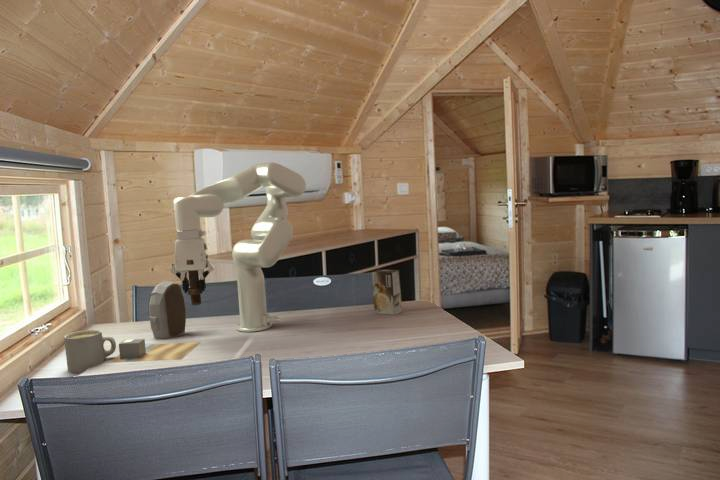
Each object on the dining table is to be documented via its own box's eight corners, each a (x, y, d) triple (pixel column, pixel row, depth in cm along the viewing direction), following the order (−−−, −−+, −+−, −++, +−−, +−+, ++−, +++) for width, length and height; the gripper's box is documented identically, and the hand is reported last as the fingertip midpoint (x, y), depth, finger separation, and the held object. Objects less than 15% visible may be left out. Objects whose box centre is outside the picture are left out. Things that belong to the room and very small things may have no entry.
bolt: (190, 303, 192) (185, 258, 190) (205, 301, 192) (201, 256, 190) (186, 307, 186) (182, 260, 184) (202, 305, 186) (198, 259, 185)
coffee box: (402, 311, 222) (400, 269, 220) (394, 315, 216) (392, 272, 215) (381, 310, 226) (379, 268, 225) (373, 313, 221) (371, 271, 219)
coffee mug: (65, 374, 167) (61, 340, 166) (70, 364, 176) (67, 332, 175) (115, 367, 170) (112, 334, 170) (118, 358, 180) (115, 326, 179)
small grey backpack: (165, 344, 193) (159, 284, 191) (143, 343, 196) (138, 284, 194) (191, 332, 208) (186, 276, 206) (170, 332, 210) (165, 277, 208)
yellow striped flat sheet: (201, 346, 188) (200, 342, 188) (182, 364, 170) (181, 359, 170) (133, 349, 189) (133, 345, 189) (107, 367, 171) (107, 362, 171)
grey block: (145, 353, 178) (144, 338, 178) (140, 357, 174) (138, 342, 173) (126, 354, 179) (125, 339, 178) (120, 358, 174) (118, 343, 174)
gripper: (218, 232, 190) (223, 288, 192) (167, 235, 191) (173, 290, 193) (211, 235, 182) (217, 292, 185) (158, 238, 183) (164, 295, 185)
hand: (194, 291), depth 189 cm, fingers closed on bolt, 4 cm apart
